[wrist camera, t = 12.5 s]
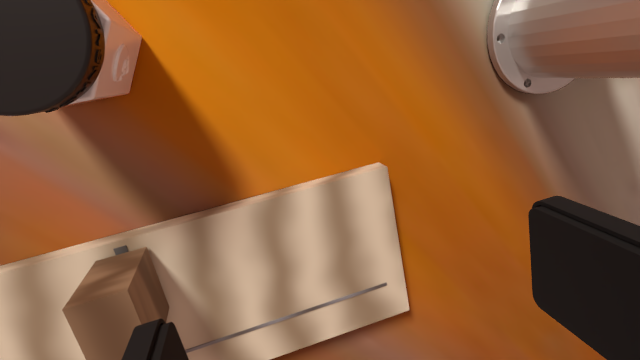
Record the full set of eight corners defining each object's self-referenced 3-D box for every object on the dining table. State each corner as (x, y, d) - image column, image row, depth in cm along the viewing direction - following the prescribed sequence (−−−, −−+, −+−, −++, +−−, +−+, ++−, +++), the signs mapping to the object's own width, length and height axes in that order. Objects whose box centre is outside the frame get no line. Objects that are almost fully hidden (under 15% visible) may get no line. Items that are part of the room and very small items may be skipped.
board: (378, 162, 37) (387, 167, 35) (401, 299, 42) (410, 310, 40) (-31, 274, 31) (-48, 287, 29) (50, 421, 36) (40, 441, 34)
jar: (126, 121, 31) (73, 144, 20) (9, 88, 29) (-128, 95, 17) (152, 9, 30) (110, -34, 18) (31, -35, 27) (-104, -116, 16)
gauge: (146, 246, 32) (127, 290, 25) (193, 370, 36) (187, 435, 29) (95, 261, 31) (62, 309, 24) (149, 385, 35) (132, 456, 28)
